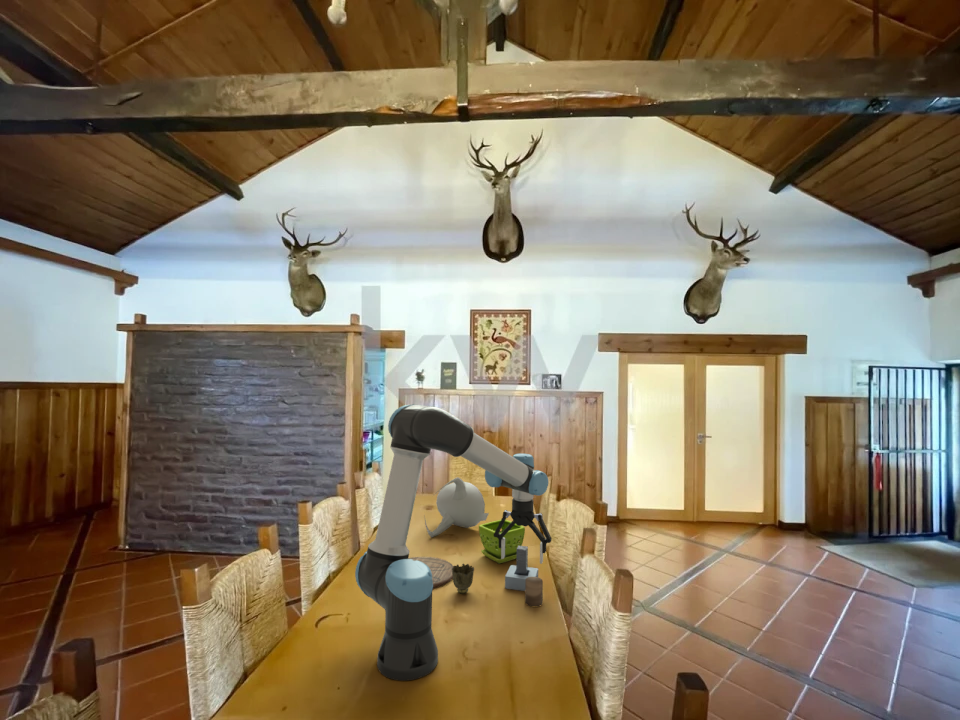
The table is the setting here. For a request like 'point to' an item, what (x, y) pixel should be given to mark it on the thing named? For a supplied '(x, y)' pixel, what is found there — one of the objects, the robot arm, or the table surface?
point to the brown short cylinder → (533, 591)
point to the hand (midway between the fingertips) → (522, 559)
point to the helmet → (459, 506)
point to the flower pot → (492, 543)
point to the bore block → (518, 578)
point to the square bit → (522, 561)
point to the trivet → (437, 569)
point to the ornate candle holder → (462, 577)
